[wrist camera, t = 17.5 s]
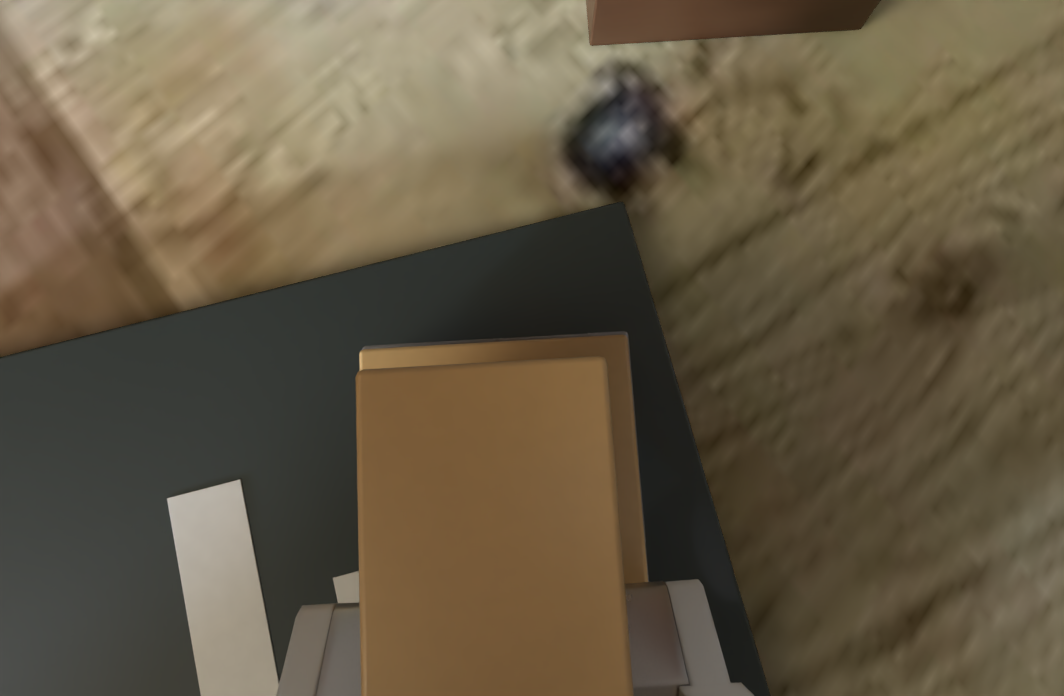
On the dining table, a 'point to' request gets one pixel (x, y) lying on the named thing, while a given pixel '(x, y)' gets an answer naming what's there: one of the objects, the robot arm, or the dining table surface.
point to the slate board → (288, 461)
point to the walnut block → (718, 18)
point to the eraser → (498, 516)
